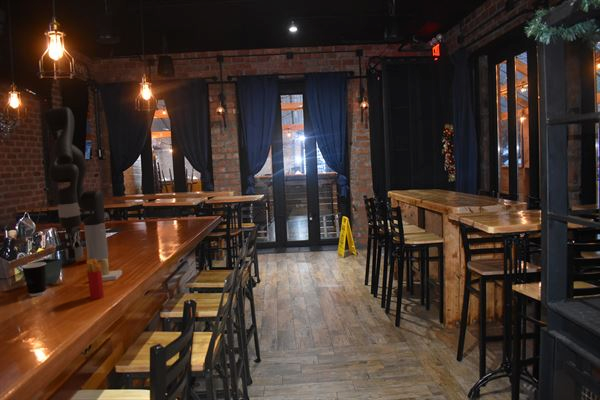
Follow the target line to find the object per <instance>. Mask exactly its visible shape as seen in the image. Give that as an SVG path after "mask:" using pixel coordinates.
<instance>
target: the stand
mask: <svg viewBox="0 0 600 400" xmlns="http://www.w3.org/2000/svg"><path fill="white" fill-rule="evenodd" d="M100 265H101V270H102V280H103V282H105V281H107V282H108V281H115V280H118V278H120V276H122V275H123V271H122V269H118V270H110V269H109V266H110V265H109V258H108V259H101V261H100Z"/></svg>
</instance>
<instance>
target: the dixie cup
mask: <svg viewBox="0 0 600 400" xmlns="http://www.w3.org/2000/svg"><path fill="white" fill-rule="evenodd" d="M30 263H31V264H28V263H27V264H24V265H22V266H21V267H20V268H21V269H22V272H23V276H24V280H25V285H26V288H27V291H28V294H29V296H30V297H39V296H43V295H45V294H46V286H47V285H46V277H45V264H46V263H45V262H38V263H32V262H30Z"/></svg>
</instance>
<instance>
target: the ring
mask: <svg viewBox="0 0 600 400" xmlns="http://www.w3.org/2000/svg"><path fill="white" fill-rule="evenodd" d="M74 249H75V256H76V257H75V258H73V259H70V258H69V253H68V249H65V248H64V250H65V255H66V256H65V257H66V260H67V261H74V260H79V259H82V258H84V247H83V245H81V244H80V245H76V246H74Z"/></svg>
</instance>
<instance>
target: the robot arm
mask: <svg viewBox="0 0 600 400" xmlns="http://www.w3.org/2000/svg"><path fill="white" fill-rule="evenodd" d="M42 115H43V120H44V123H45V125H46V128H47V130H48V132H49V134H50V135H51V138H52V140H53V142H54V144H53V147H52V154H53V158H52V159H53V160H52V162H51V165H50V167H49V170H48V177H49V180H50V181H51V182H52V183H54V184H62V183H69V185H68V186H67V187H64V188H60V189H58V190H57V192H56V198H57V205H58V209H57V210H58V217H59V218H58V219H59V225H60V228H61V229H65V233H63V234H62V237H63V242H64V243H63V244H64V250H65V249H68V253H69V258H70V259H73V258H75V257H76V256H75V249H74V246H76V245H81V243H82V235H81V233H82V232H81V227H80V226H81V225H82V221H81V220H82V219H81V212H80V211H81V210H82V211H93V213H92V214H91V215H90V216H88V217H85V218H84V219H83V228H84V237H85V244H86V253H87V254H86V255H87V260H90V259H93V258H94V259H97V260H98V262H101V259H108V260H109V250H108V240H107V232H106V231H107V230H106V223H105V215H106V212H105V201H104V195H103V192H102V191H101V190H99V189H95V190H94V189H93V190H86V189H85V187H84V179H85V176H86V173H87V171H88V164H87V162H86V158H85V156H84V153H83V152H82V151H81V149H79V147H77V146H76V145H74V144H73V138H74V133H75V117H74V116H75V115H74V114H73V112H72V110H71V108H69V107H67V106H62V107H56V108H50V109H46V110H44V111H43V114H42Z"/></svg>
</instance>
